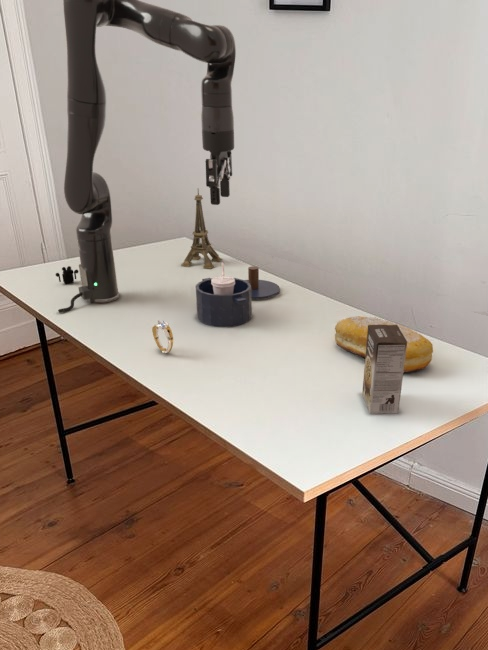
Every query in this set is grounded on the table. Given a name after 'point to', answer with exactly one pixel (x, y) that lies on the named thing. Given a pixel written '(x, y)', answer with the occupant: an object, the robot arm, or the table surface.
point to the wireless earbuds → (67, 275)
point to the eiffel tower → (202, 233)
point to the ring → (165, 327)
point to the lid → (261, 285)
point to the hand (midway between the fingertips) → (220, 200)
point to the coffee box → (384, 368)
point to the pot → (224, 304)
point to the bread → (355, 328)
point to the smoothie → (223, 284)
